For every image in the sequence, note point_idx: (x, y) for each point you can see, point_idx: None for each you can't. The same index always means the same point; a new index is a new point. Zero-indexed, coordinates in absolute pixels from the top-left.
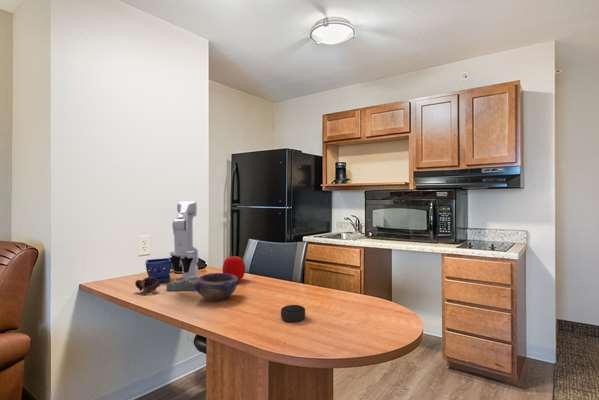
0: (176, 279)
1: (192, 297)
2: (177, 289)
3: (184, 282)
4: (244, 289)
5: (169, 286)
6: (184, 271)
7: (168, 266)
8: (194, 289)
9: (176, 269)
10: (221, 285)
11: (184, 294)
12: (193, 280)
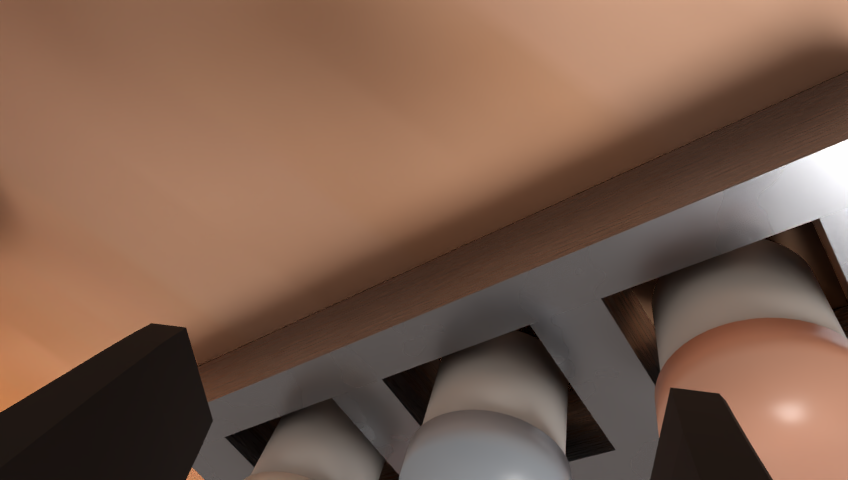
0: (760, 319)
1: (51, 4)
2: (645, 172)
3: None
4: None
5: (837, 122)
6: (121, 345)
7: None
8: (386, 286)
9: (670, 473)
10: None
11: (309, 56)
12: (430, 414)
